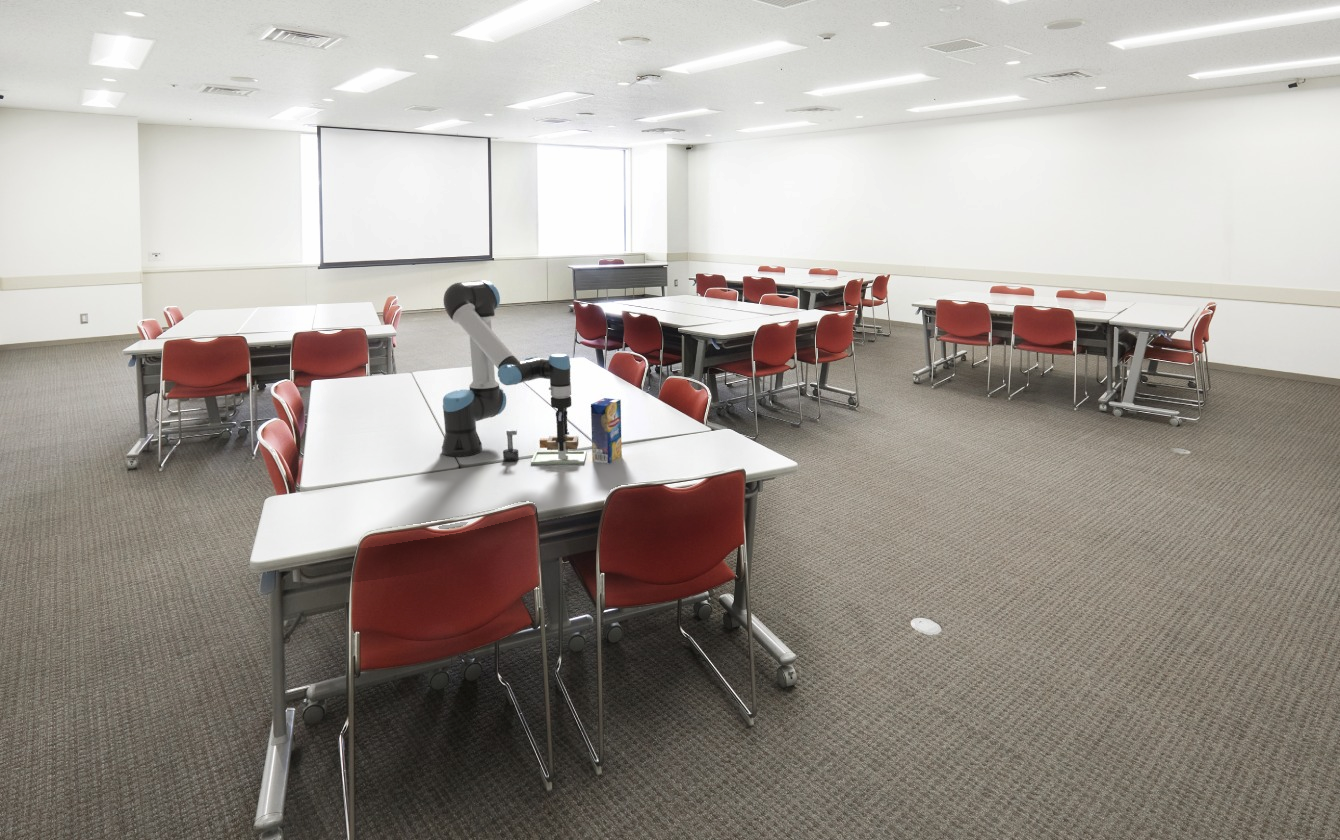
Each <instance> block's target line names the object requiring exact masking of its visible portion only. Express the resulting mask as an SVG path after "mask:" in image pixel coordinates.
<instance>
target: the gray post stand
mask: <svg viewBox="0 0 1340 840" xmlns="http://www.w3.org/2000/svg"><path fill="white" fill-rule="evenodd" d="M517 434H518V430H517V429H506V437H507V438H506V439H507V448H506V449H503V451H502V455H503V456H502V457H503V461H504V462H506V463H515V462H517V461H519V459H520V456H519V449H517V448H514V446H513V443H514V442H513V436H516V435H517Z"/></svg>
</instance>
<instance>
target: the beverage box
mask: <svg viewBox="0 0 1340 840" xmlns="http://www.w3.org/2000/svg"><path fill="white" fill-rule="evenodd" d="M621 403H622V401H621V399H619V398H617V399H616V398H608V397H607V398H606V397H603V398H602V399H599V400H597V401H595V402H593V403H591V404H590V418H591V419H590V420H591V456H592V462H595V463H603V464H610V463H612V462H614V461H615V460H617V459H618V458H620V457H621V456H623V455H622V409H621V408H622V406H621Z"/></svg>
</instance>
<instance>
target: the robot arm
mask: <svg viewBox="0 0 1340 840" xmlns="http://www.w3.org/2000/svg"><path fill="white" fill-rule="evenodd" d="M500 296H501V295H500V293H499V290H498V288H497V287H496V286H495V284H493V283H492V282H490V281H487V280H473V281H472V280H471V281H464V282H463V281H461V282H455V283H453V284H451V285H449V286H448V287H447V288H446V290H445V291H444V295H443V307H444V309H445V312H446V314H447V315H448V317H449V318H450V319H451V320H452V321H453V323H455V324H458V325H460V326H461V328H462V329H463V330H464V331H465V332H466V333H467V335H468V336H469V348H470V358H471V360H470V361H471V373H472V374H471V375H472V382H471V383H470V384H469V385H468V386H469V387H468V388H469V389H459V390H453V391H450V392H448V393H446V394H445V395H444V396H443V398H442V410H443V419H444V437H443V443H442V446H441V453H442V455H444V456H447V457H458V458H459V457H461V458H462V457H468V456H473V455H477V454H479V453H481V452H482V451H483V444H482V441H481V438H480V436H479V434H478V431H477V423H476V422H479V421H481V420H482V421H483V420H485V419H489V418H493V417H494V418H495V417H496V416H498V415H500V414H502V412H504V410H505V408H506V406H507V395H506V393H505V392H504V389H503V388H502V387H500V383H501V384H502V385H504V386H514V385H518V384H521V383H526V382H530V381H533V380H537V379H545V380H549V384H550V385H549V387H548V390H549V391H550V396H551V397H550V406H551V407H552V408H554V409H557V410H556V412H555V417H556V418H555V419H556V436H557V441H556V442H558V450H557V451H558V459H566V452H568V451H569V450H566V447H565V436H569V435H570V432H569V430H568V429H569V428H568V410H567V409H568V408H570V407H572V396H571V395H572V384H571V360H570V356H569V354H565V353H554V354H550V355H549V356H548V358H545V357H538V356H528V357H526V358H525V359H524V360H521V361H519V360H518V358H517V357H516V356H515V355H514V354H513V353H512V351H510V349H509V348H508V347H507V346H506V344H505V343H503V342H502V341H501V339H500V337H498V335H497V334H496V333H495V332H494V330H492V319H493V318H494V317H495V316H496V315H495V310H497V308H498V307H499V305H500V303H501V297H500ZM495 367H496V368H497V377H498V378H499V381H500V383H499V382H498V381H496V376H495Z"/></svg>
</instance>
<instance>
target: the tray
mask: <svg viewBox="0 0 1340 840" xmlns="http://www.w3.org/2000/svg"><path fill="white" fill-rule="evenodd" d="M586 457H587V450H568V452H566V459H558V450H547V451H546V450H544V451H543V450H542V451H541V450H539V451H538V450H537V451H535V452H534V454H533V456H532V458H531V460H530V466H555V465H559V466H561V465H562V466H563V465H565V466H566V465H568V466H569V465H573V466H574V465H585V463H586Z"/></svg>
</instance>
